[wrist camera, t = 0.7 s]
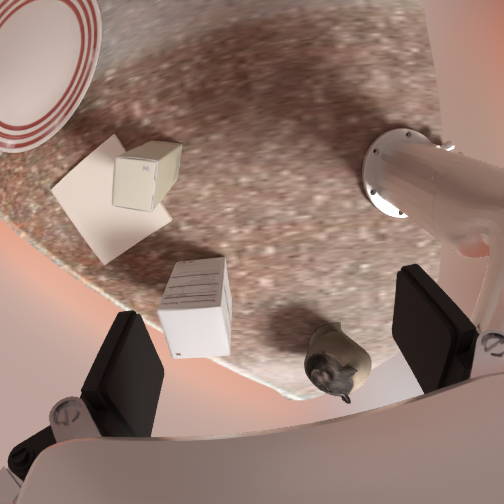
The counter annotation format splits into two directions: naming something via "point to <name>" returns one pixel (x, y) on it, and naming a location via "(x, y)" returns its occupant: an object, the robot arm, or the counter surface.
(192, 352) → the supplement box
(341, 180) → the counter surface
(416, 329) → the robot arm
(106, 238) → the beige flat slab
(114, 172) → the box
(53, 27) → the dinner plate
